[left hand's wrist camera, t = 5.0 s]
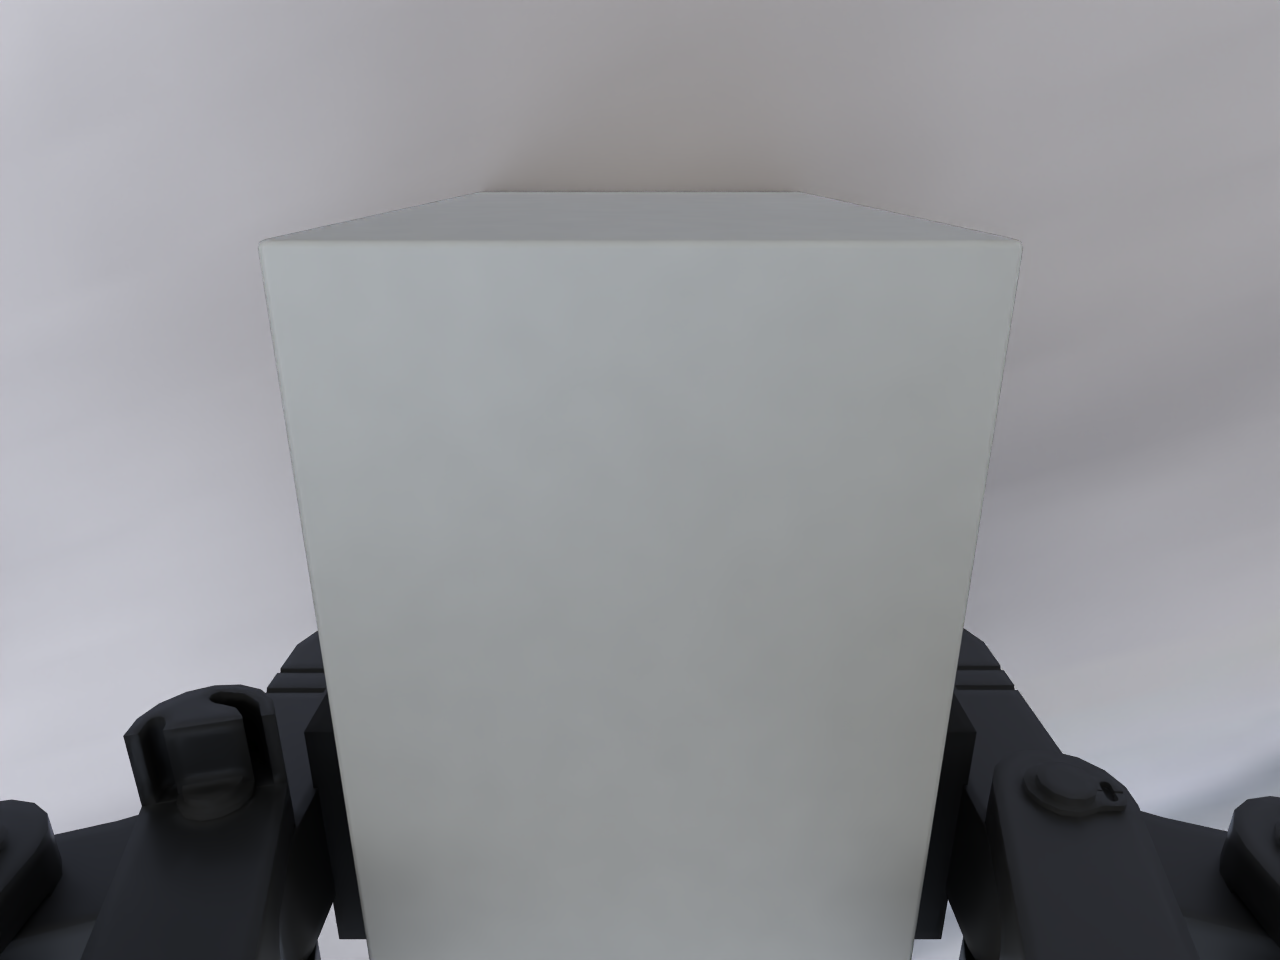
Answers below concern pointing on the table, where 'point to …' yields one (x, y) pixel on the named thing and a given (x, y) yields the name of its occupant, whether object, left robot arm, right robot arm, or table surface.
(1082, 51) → the table surface
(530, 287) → the beam
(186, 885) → the left robot arm
